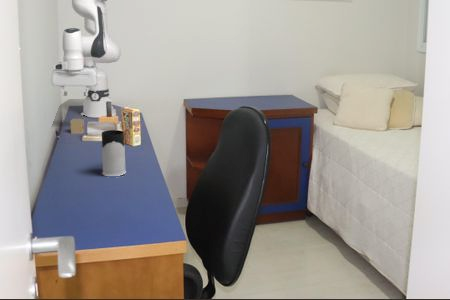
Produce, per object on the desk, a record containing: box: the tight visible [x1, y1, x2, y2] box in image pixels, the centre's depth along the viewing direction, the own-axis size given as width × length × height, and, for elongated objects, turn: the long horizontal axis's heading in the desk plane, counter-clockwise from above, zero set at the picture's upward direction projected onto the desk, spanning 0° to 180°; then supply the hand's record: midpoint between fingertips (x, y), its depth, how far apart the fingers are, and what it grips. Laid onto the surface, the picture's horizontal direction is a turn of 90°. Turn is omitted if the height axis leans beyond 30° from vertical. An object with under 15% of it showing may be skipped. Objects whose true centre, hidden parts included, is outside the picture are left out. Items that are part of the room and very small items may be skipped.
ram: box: [98, 100, 120, 129], centre depth 250 cm, size 6×8×12 cm
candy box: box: [120, 106, 142, 147], centre depth 228 cm, size 9×4×15 cm, turn 44°
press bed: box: [81, 121, 122, 142], centre depth 245 cm, size 24×16×8 cm, turn 1°
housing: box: [70, 118, 85, 135], centre depth 248 cm, size 4×5×6 cm
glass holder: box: [101, 130, 127, 176], centre depth 190 cm, size 9×14×15 cm, turn 15°
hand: (75, 95), depth 244 cm, fingers open, 8 cm apart
